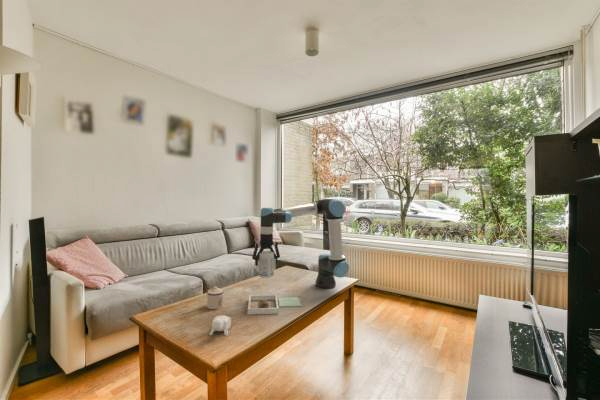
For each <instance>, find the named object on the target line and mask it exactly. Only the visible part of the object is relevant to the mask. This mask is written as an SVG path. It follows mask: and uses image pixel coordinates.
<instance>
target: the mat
mask: <svg viewBox="0 0 600 400" xmlns="http://www.w3.org/2000/svg"><path fill="white" fill-rule="evenodd" d="M277 300H278V307H279V308H289V307H291V308H292V307H295V308H297V307H302V303H301V301H300V298H299V297H277Z"/></svg>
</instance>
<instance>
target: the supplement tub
mask: <svg viewBox="0 0 600 400" xmlns="http://www.w3.org/2000/svg"><path fill="white" fill-rule="evenodd" d="M274 252H275V251H274ZM274 252H271V251H270V250H263V251H262V253H260V255H259V259H258V260H259V272H258V271H257V276H258V277H259V278H262V279H270V278H272V277H274V274H275V270H274Z"/></svg>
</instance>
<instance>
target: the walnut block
mask: <svg viewBox="0 0 600 400" xmlns="http://www.w3.org/2000/svg"><path fill="white" fill-rule="evenodd" d="M257 308H270V307H269V300H257Z"/></svg>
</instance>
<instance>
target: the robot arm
mask: <svg viewBox="0 0 600 400" xmlns="http://www.w3.org/2000/svg"><path fill="white" fill-rule="evenodd" d="M345 213H346V205H345V203H344V202H343V200H341V199H337V198H322V199H319V200H315V201H311V202H310V203H305V204H300V205H292V206H287V207H282V208H276V209H274V208H273V207H262V208H261V209H260V230H259V231H260V235H259V236H260V237H259V242H255V243H254V250H253V253H252V257H251V259H252V260H254V265H255V267H256V272H257V273H258V272H259V260H258V259H259V255H260V253H262V251H265V250H269V251H271V252H274V271H276V265H277V264H278V259H279V258H281V255H280V251H279V247H278V245H279V244H278V243H279V242H278V241H274V224H283V223H284V224H289V223H290V222H291V221H292V219H293V218H296V217H297V218H298V217H302V216H303V217H304V216H307V215H324V216H325V221H327V224H328V225H327V226H328V239H329V240H328V242H329V253H322V254H319V255H318V260H317V262H318V264H317V266H318V267H317V276H316V279H315V281H314V282H315V287H317V288H321V289H332V288H333V287H334V288H335V287H336V285H337V282H336V279H335V277H336V278H339V279H342V278H344V277H345V276H347V274H348V273H349V272H350V271H349V270H350V266H349V263H348V262H347V261H346V256H345V255H344V254H343V241H342V240H343V239H342V238H343V237H342V224H341V223H342V222H341V220H343V216H344V215H345ZM273 247H274V249H273ZM258 249H259V250H258Z"/></svg>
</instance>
